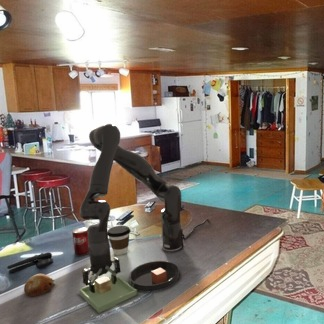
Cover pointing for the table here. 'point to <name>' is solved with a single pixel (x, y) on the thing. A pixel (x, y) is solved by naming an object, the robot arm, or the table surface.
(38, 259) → the can opener
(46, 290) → the bread roll
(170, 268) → the pan
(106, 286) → the beech block
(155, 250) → the table surface
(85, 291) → the tray
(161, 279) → the terracotta block
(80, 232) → the soda can
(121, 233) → the coffee cup
